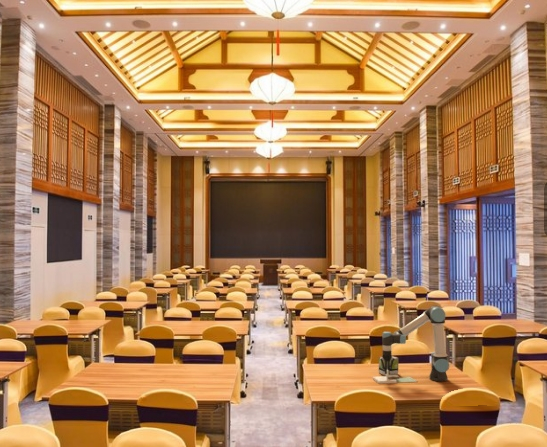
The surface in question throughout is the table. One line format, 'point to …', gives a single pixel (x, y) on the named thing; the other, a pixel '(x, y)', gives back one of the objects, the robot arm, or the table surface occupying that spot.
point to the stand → (384, 380)
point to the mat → (405, 380)
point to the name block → (393, 377)
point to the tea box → (392, 371)
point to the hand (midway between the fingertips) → (387, 377)
